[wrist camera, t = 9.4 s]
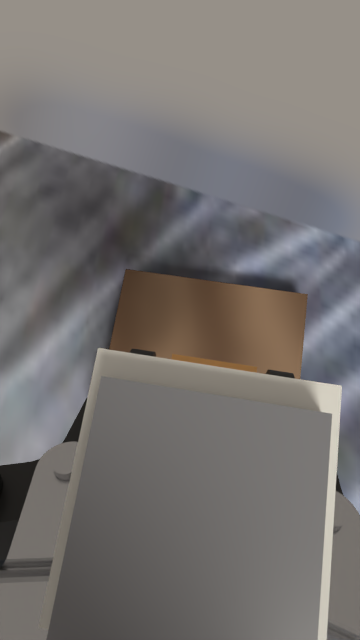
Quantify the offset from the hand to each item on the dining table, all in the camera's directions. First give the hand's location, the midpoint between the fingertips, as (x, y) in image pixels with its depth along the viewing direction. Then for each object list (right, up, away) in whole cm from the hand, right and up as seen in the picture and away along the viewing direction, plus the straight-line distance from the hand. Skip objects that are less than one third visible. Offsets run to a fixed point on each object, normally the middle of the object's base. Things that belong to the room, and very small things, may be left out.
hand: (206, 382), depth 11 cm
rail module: (0, -3, +3) cm, 5 cm away
